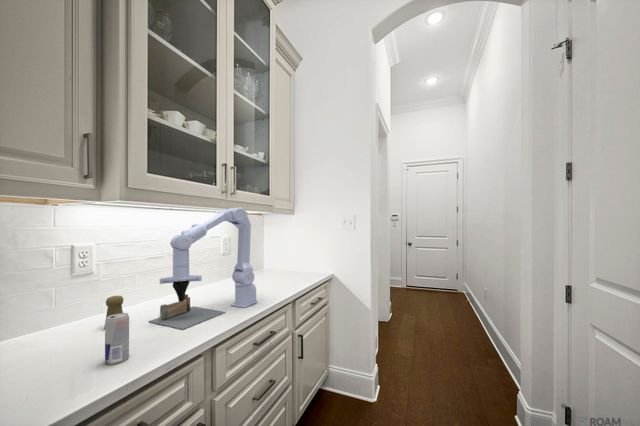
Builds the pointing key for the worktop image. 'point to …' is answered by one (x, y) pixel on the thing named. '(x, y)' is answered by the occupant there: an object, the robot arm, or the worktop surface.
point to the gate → (175, 308)
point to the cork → (114, 305)
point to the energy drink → (116, 338)
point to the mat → (188, 318)
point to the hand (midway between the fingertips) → (181, 301)
